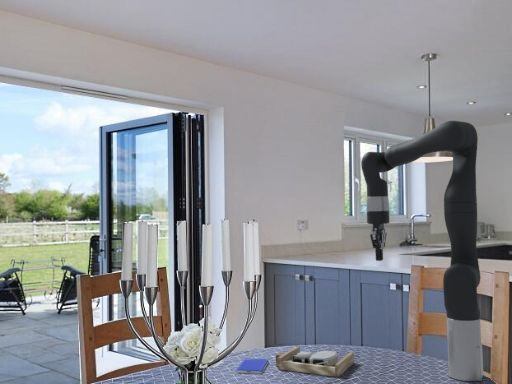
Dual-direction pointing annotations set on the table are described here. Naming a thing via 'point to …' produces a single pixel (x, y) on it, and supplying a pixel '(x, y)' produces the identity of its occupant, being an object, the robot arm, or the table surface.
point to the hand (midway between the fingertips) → (379, 260)
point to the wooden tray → (336, 371)
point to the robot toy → (317, 358)
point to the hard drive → (252, 366)
